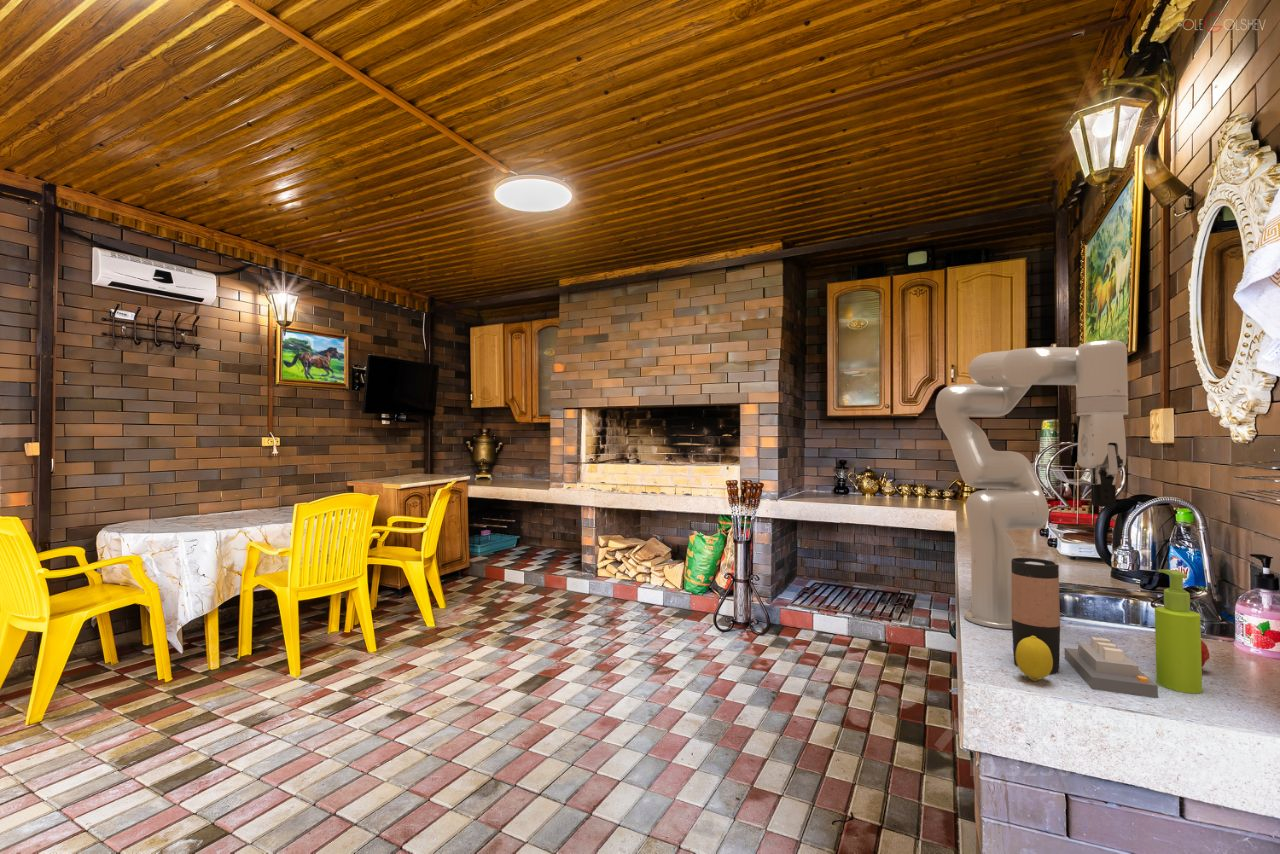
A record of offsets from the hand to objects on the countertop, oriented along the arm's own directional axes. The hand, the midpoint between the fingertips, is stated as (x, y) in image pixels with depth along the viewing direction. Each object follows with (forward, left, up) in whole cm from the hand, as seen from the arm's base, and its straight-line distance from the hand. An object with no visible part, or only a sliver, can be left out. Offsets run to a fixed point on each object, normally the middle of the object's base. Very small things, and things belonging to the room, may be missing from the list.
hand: (1103, 506), depth 106 cm
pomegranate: (-11, +15, -31) cm, 36 cm away
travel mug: (0, -11, -31) cm, 33 cm away
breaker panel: (0, 0, -31) cm, 31 cm away
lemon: (+8, -13, -31) cm, 35 cm away
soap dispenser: (0, +10, -31) cm, 33 cm away
